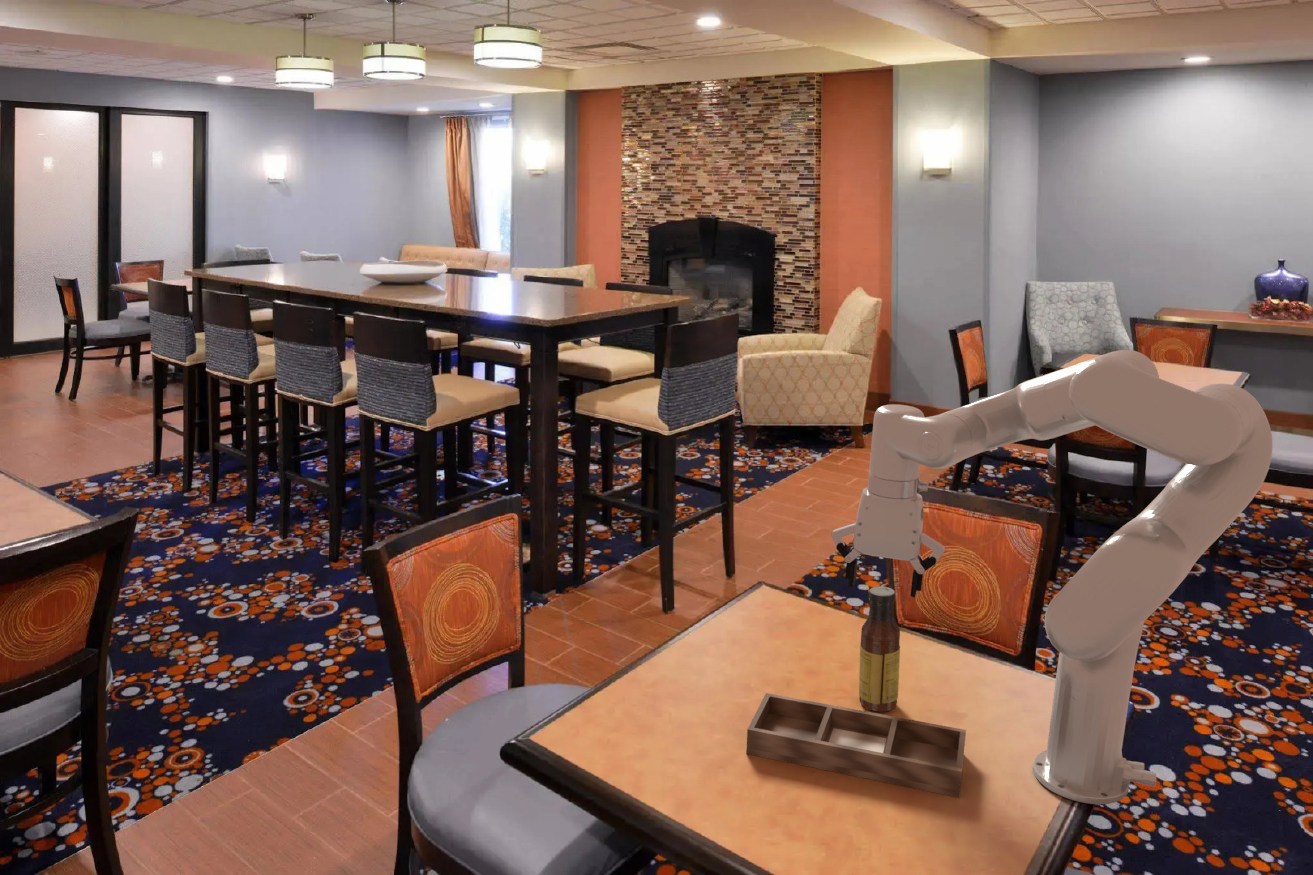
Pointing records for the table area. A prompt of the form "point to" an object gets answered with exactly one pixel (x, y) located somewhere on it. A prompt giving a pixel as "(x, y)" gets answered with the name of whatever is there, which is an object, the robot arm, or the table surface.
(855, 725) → the walnut rack
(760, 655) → the table surface
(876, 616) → the sauce bottle
